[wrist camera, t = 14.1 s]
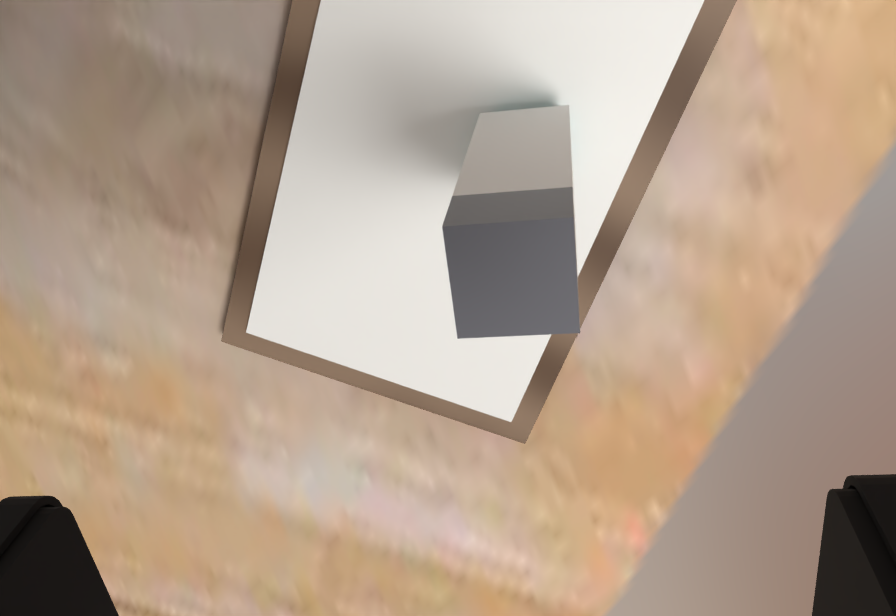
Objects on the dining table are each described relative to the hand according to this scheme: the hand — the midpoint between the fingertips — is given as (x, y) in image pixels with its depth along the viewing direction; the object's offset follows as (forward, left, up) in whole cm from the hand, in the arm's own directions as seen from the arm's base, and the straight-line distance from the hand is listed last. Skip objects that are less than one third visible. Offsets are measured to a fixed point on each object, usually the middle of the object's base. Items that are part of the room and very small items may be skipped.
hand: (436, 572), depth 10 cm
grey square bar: (+1, 0, -21) cm, 21 cm away
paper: (+2, -3, -21) cm, 21 cm away
